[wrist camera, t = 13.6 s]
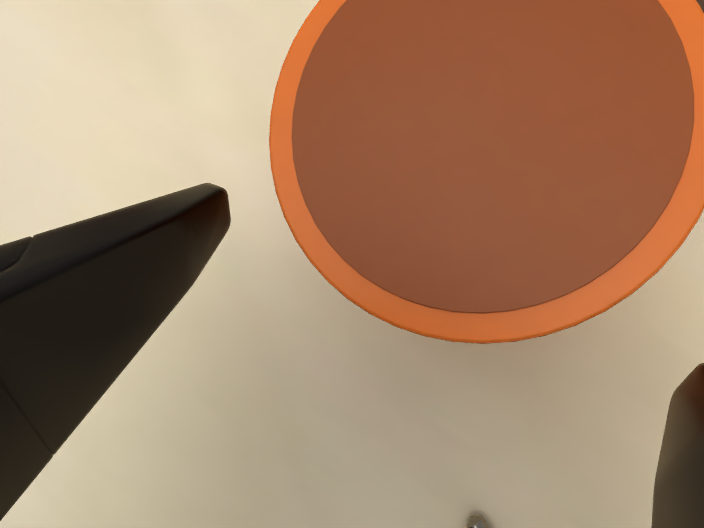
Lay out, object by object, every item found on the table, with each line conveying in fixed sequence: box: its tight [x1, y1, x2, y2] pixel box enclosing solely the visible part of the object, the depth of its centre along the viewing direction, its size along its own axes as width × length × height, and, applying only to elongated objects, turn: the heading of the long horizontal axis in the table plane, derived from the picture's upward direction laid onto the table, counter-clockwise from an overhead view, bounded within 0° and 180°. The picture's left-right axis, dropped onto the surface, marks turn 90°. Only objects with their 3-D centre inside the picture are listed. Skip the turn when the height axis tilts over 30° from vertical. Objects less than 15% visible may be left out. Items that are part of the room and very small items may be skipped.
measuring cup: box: [269, 0, 704, 344], centre depth 13 cm, size 13×6×13 cm, turn 159°
